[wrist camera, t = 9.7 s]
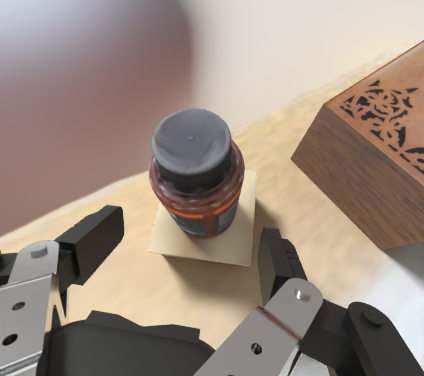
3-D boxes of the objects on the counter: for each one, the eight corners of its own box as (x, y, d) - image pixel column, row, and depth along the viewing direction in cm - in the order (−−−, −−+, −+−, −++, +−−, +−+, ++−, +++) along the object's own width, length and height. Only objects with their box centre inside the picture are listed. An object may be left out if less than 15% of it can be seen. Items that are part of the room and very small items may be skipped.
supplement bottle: (239, 187, 22) (261, 100, 11) (230, 246, 19) (246, 206, 9) (182, 177, 22) (152, 86, 12) (166, 233, 20) (111, 182, 9)
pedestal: (249, 189, 27) (256, 170, 22) (244, 268, 23) (251, 265, 19) (176, 181, 27) (168, 161, 23) (160, 257, 24) (147, 251, 19)
